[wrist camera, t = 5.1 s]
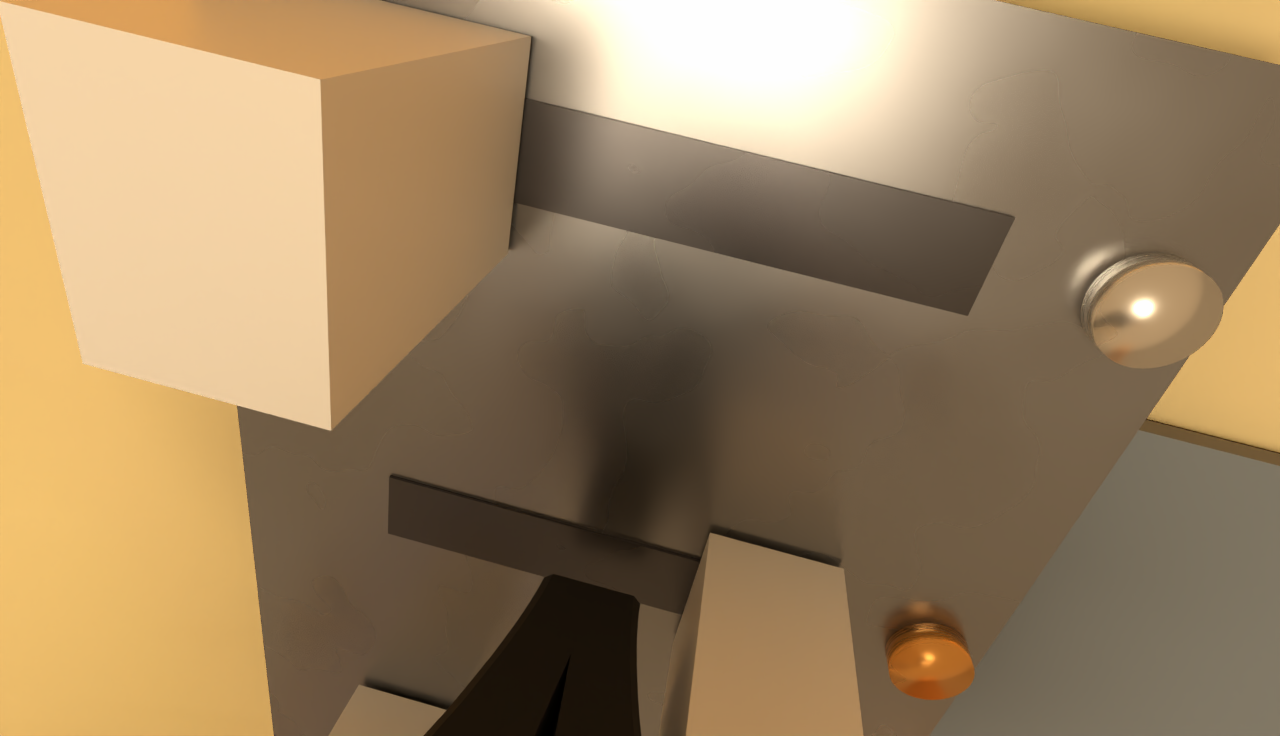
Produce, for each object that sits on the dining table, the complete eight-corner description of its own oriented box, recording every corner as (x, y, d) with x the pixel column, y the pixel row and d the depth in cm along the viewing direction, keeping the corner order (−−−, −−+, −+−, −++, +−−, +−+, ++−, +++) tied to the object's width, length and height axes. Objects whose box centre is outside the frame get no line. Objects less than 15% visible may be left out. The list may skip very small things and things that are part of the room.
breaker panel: (802, 842, 16) (806, 939, 15) (314, 701, 17) (265, 778, 15) (1274, 69, 8) (1406, 91, 6) (264, -161, 8) (139, -197, 7)
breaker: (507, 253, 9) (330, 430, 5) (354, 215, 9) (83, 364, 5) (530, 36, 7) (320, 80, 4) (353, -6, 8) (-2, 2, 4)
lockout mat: (1302, 849, 14) (1315, 872, 13) (896, 735, 14) (900, 754, 14) (1687, 557, 10) (1721, 578, 9) (1107, 409, 10) (1119, 425, 10)
